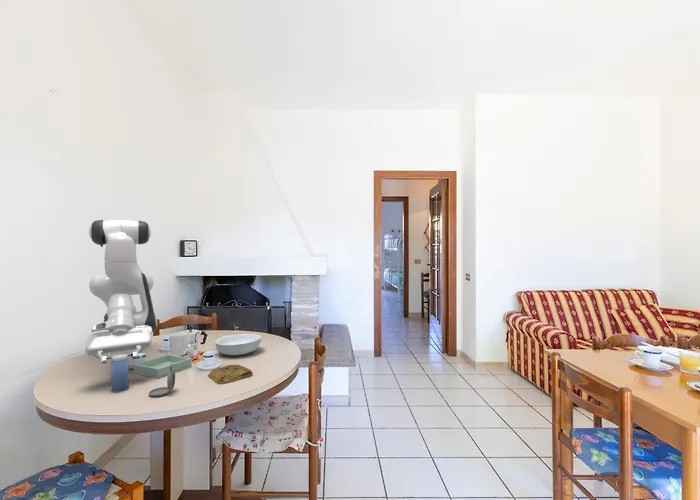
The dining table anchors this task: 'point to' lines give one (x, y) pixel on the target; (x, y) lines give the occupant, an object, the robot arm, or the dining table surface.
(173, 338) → the white cup
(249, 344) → the serving bowl
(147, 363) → the tray
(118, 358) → the shaker
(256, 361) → the dining table surface
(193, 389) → the dining table surface
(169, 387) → the pocket watch
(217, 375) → the pastry
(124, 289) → the robot arm
